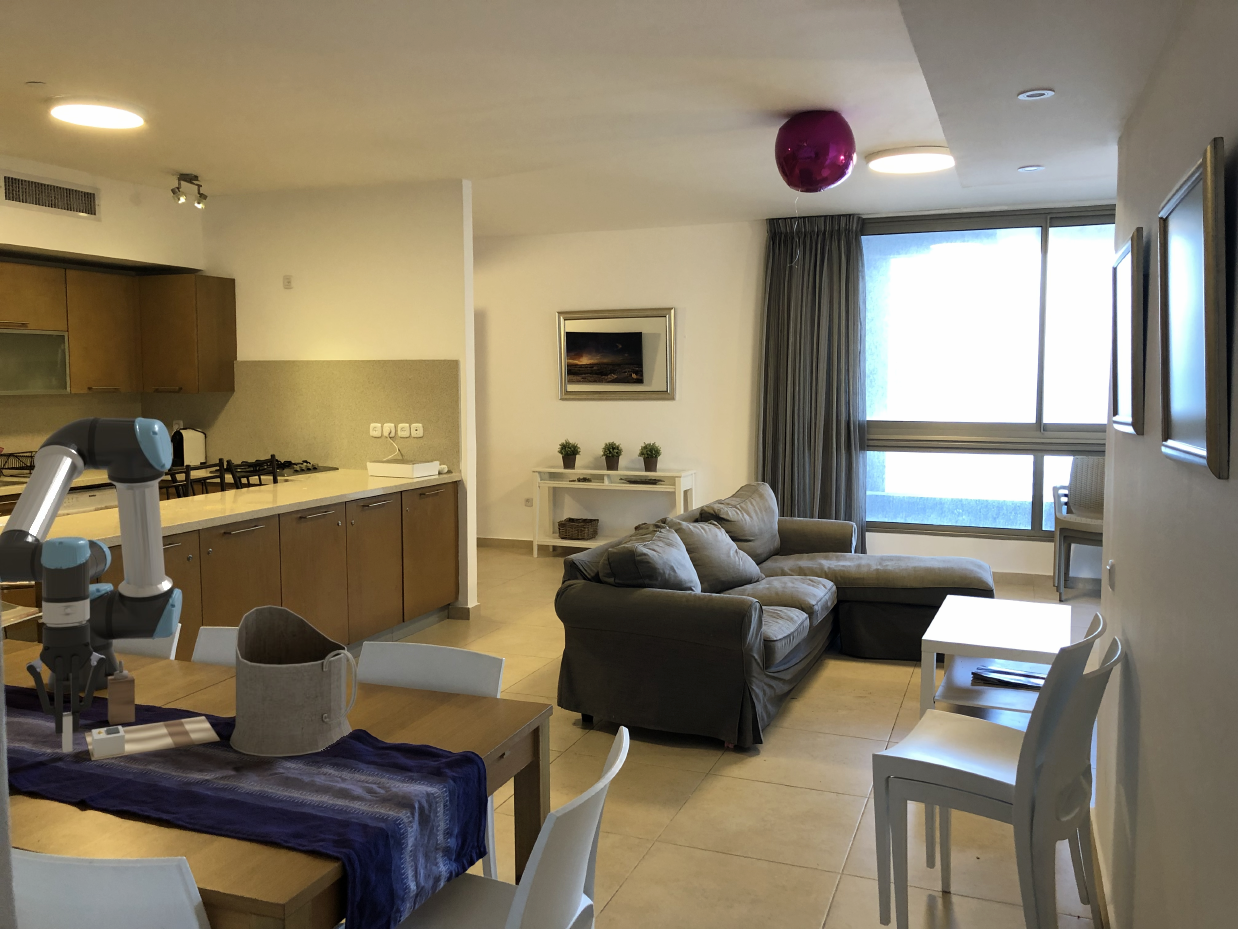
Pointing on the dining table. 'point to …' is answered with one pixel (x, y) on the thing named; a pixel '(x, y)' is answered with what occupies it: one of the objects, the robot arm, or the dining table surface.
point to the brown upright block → (121, 697)
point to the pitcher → (288, 685)
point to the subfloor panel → (163, 736)
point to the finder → (108, 741)
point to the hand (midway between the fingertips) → (67, 749)
